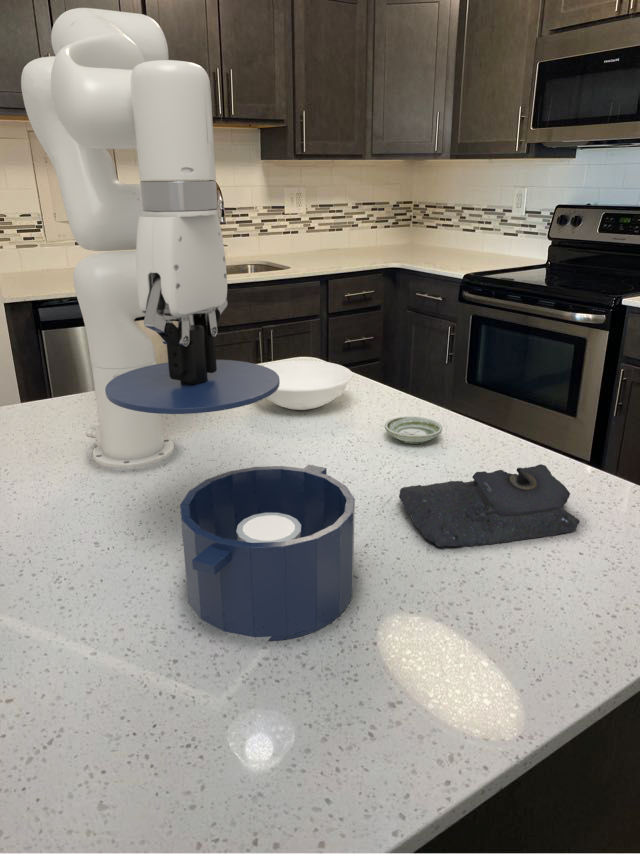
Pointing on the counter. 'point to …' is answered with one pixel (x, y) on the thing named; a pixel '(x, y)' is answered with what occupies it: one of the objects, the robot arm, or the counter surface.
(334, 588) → the pot
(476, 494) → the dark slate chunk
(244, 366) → the lid
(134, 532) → the counter surface
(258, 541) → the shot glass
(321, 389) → the bowl
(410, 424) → the saucer
